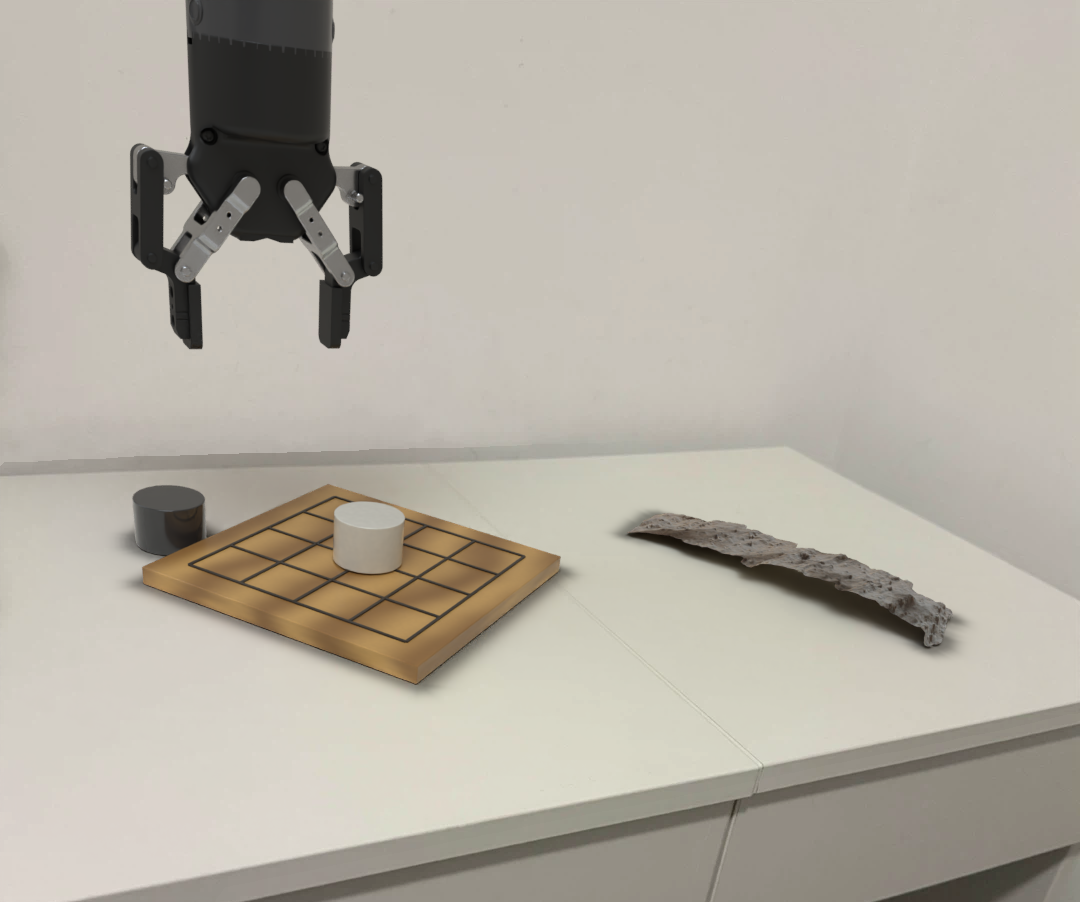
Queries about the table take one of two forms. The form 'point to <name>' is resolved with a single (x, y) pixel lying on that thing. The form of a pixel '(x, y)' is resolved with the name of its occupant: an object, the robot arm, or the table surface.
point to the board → (357, 583)
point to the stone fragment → (808, 567)
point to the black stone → (168, 518)
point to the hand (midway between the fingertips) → (262, 345)
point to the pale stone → (368, 537)
